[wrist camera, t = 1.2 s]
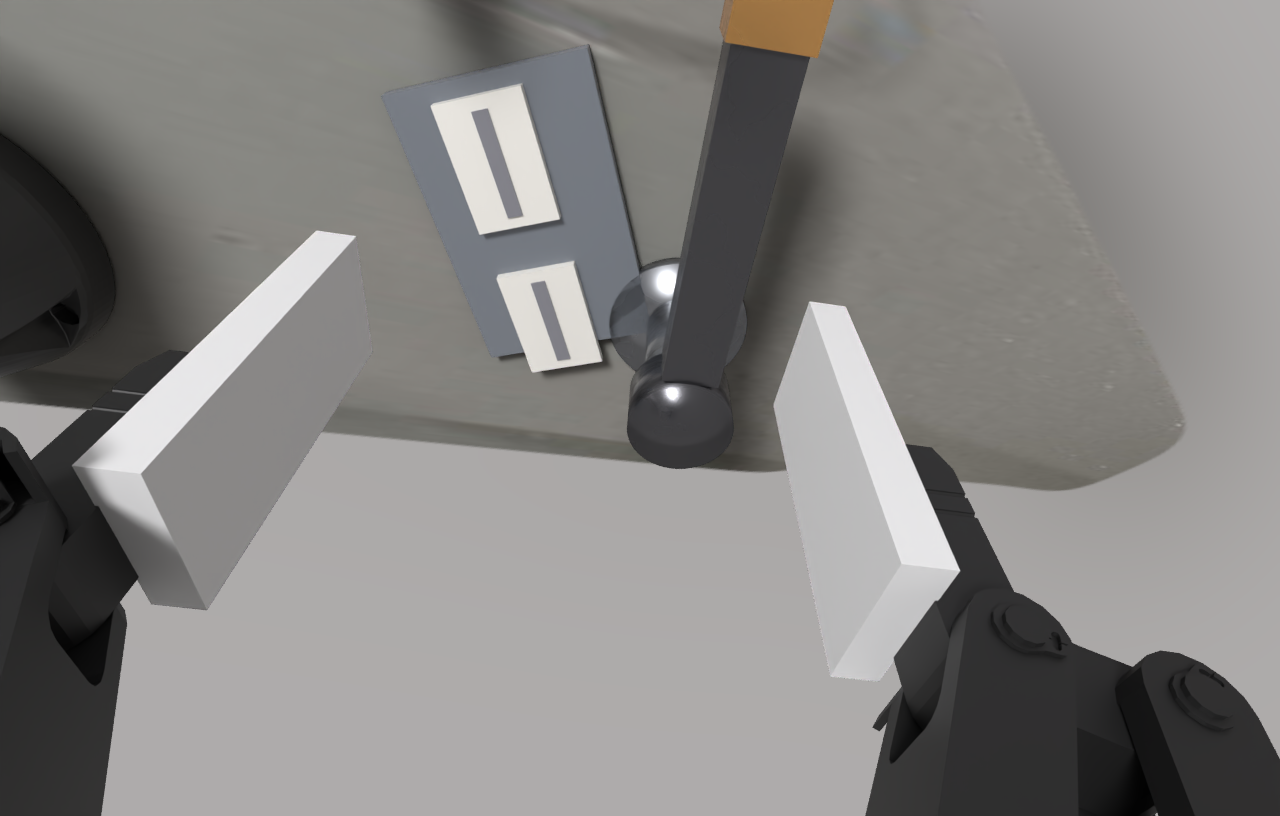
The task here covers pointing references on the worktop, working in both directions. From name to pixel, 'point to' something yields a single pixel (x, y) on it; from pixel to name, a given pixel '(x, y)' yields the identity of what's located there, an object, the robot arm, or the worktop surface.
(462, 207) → the label board
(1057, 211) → the worktop surface
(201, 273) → the worktop surface
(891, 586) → the robot arm
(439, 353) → the worktop surface
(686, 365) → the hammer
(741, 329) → the round pedestal stand
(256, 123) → the worktop surface
